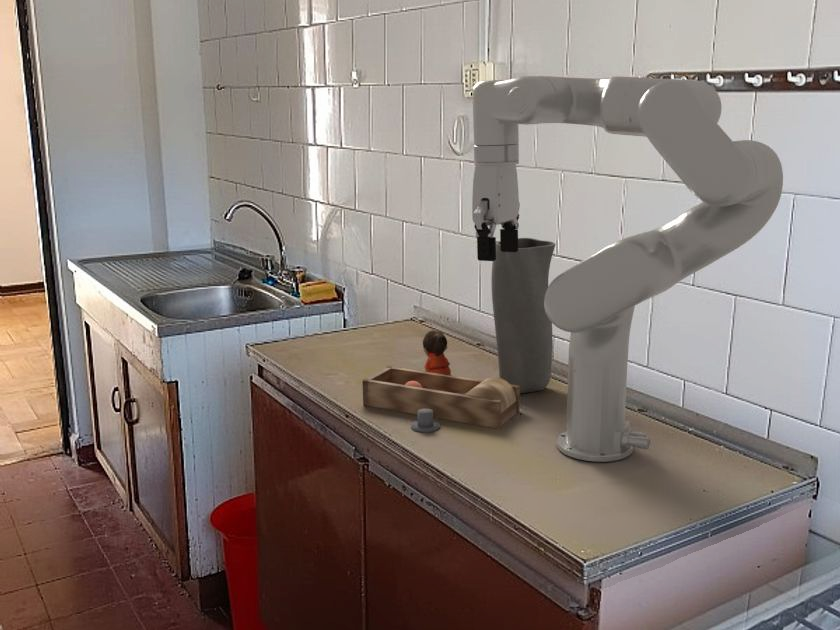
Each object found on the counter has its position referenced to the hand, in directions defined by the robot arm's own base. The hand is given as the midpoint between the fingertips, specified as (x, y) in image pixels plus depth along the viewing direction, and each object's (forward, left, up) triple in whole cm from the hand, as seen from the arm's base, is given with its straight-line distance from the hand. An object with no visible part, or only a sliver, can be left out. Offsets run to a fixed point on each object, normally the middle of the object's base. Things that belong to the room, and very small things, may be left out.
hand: (498, 256), depth 149 cm
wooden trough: (+13, -3, -32) cm, 35 cm away
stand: (+11, +7, -31) cm, 33 cm away
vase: (+3, -20, -31) cm, 37 cm away
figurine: (+19, -14, -31) cm, 39 cm away
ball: (+19, -2, -28) cm, 34 cm away
